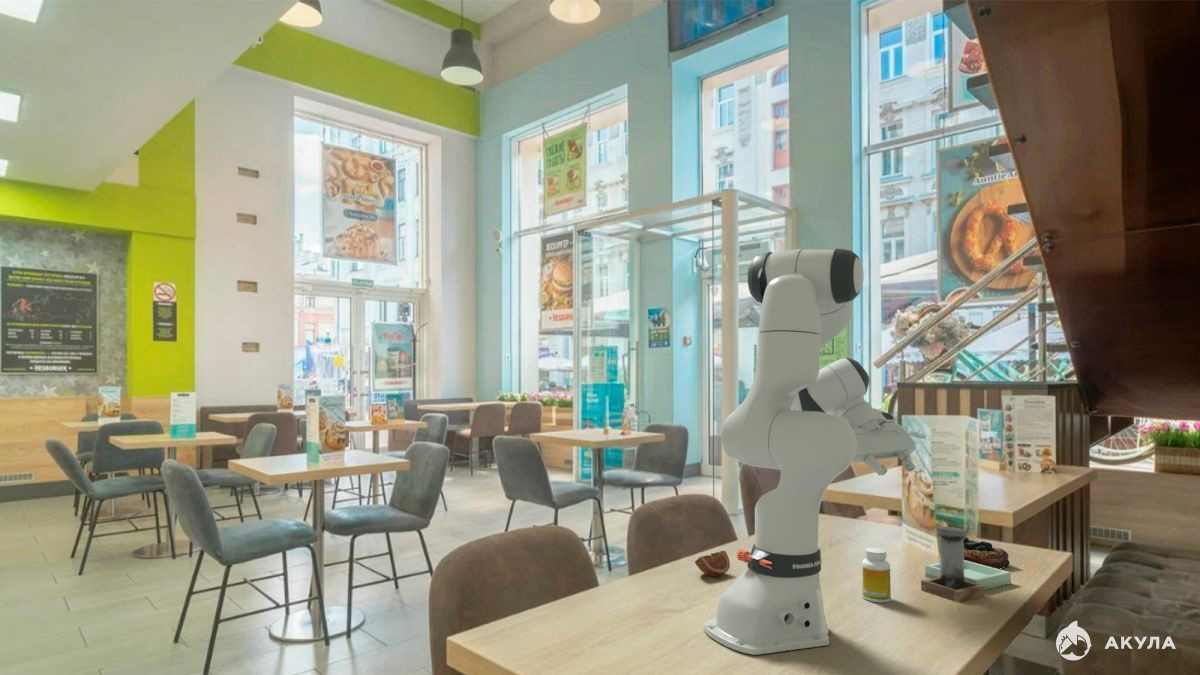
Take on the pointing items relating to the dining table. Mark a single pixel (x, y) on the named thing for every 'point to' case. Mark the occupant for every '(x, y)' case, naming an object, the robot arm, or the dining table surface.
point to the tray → (975, 574)
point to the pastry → (985, 554)
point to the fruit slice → (714, 563)
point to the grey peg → (952, 556)
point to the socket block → (953, 590)
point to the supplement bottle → (876, 576)
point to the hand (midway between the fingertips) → (897, 471)
